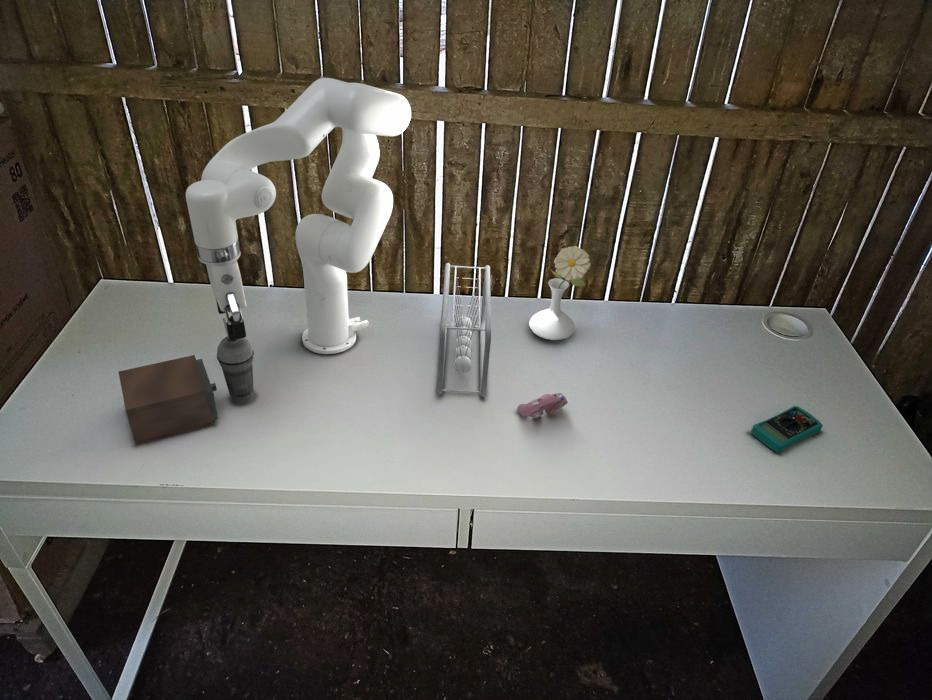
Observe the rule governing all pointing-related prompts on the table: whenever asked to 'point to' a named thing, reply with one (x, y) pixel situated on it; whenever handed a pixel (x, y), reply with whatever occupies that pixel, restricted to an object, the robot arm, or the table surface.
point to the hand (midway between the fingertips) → (232, 324)
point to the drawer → (208, 389)
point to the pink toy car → (542, 405)
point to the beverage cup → (237, 367)
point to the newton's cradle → (466, 330)
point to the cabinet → (165, 399)
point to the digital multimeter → (786, 428)
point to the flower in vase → (553, 319)
